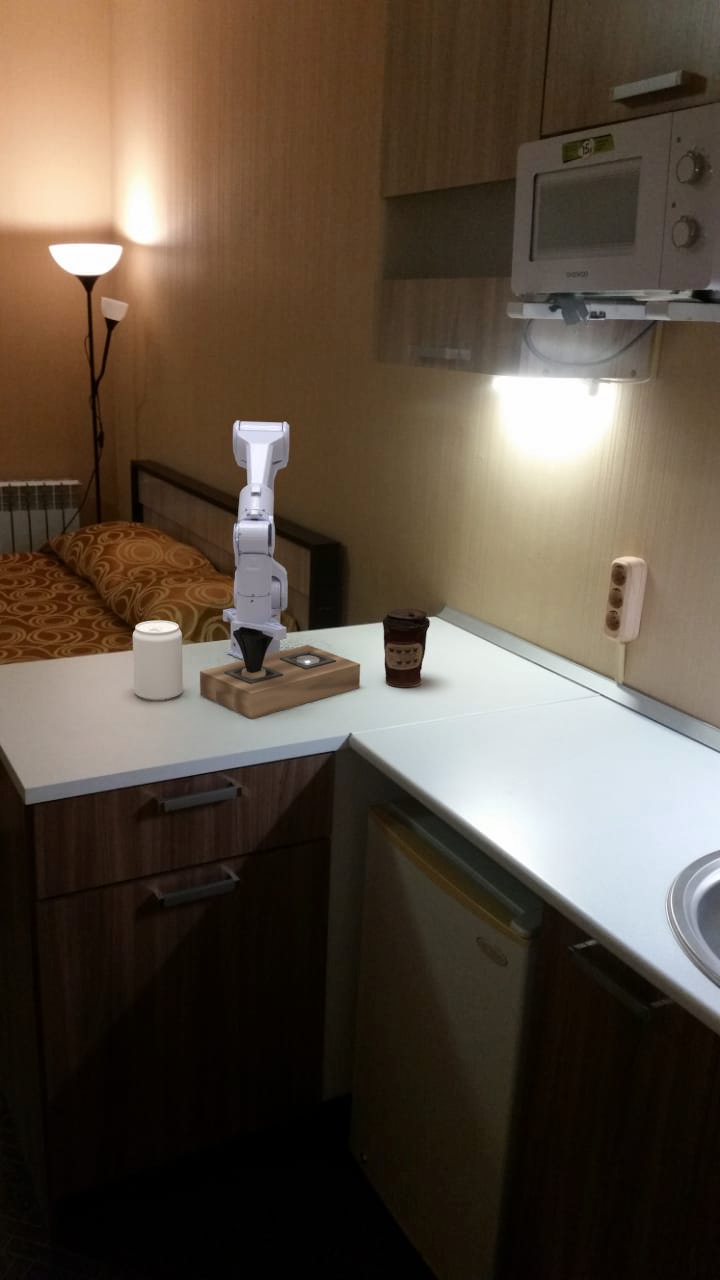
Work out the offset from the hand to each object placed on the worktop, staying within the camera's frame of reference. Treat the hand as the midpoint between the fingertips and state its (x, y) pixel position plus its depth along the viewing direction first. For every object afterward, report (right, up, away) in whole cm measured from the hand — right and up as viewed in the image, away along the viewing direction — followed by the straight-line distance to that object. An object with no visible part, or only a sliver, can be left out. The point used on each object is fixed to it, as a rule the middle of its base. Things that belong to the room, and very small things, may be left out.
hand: (253, 671), depth 182 cm
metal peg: (+9, -3, +9) cm, 13 cm away
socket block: (+4, -4, +6) cm, 8 cm away
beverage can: (-16, -4, +3) cm, 17 cm away
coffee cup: (+26, -3, +12) cm, 28 cm away
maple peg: (0, -4, +1) cm, 5 cm away
